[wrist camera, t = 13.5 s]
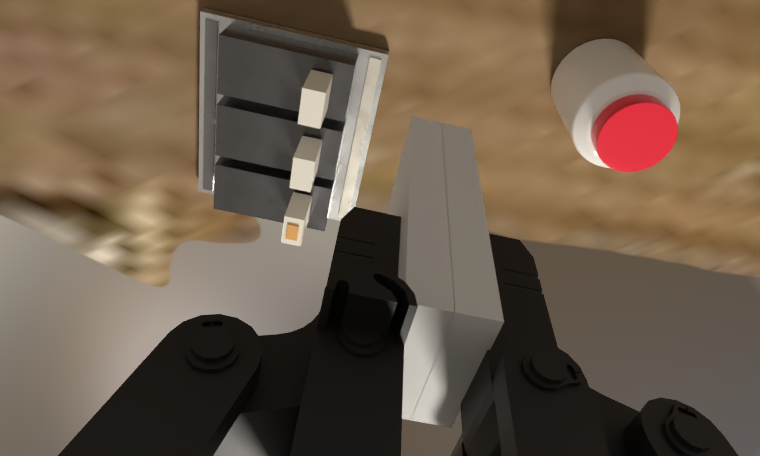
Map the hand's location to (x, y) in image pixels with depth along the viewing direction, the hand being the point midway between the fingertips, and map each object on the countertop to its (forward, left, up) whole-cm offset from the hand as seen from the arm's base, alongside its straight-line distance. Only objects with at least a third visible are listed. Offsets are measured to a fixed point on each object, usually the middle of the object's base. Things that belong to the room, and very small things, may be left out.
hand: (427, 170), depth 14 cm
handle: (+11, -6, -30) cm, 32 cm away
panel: (+17, -9, -34) cm, 39 cm away
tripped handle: (+23, -6, -30) cm, 38 cm away
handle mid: (+17, -6, -30) cm, 35 cm away
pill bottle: (+7, +17, -35) cm, 39 cm away
